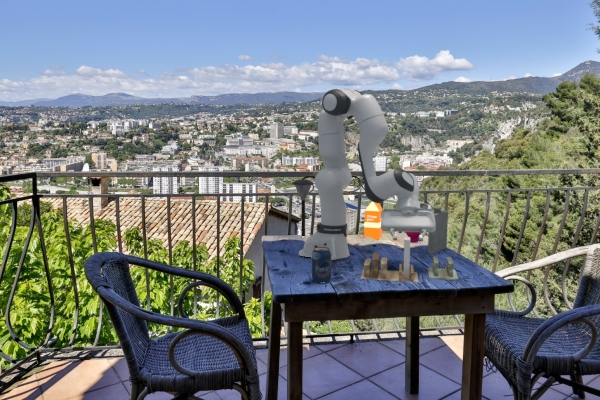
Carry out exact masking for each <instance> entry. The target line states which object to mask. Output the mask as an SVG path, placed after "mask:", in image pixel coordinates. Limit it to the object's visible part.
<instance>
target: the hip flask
mask: <svg viewBox="0 0 600 400" xmlns="http://www.w3.org/2000/svg"><path fill="white" fill-rule="evenodd" d="M432 209H433V214H434V217H435V222H436V230H435V231H434V232H427V233H428V239H427V240H428V241H427V254H429V255H435V254H436V253H439V252H440V251H442V250H446V249H447V245H448V243H447V242H448V225H449V224H448V223H449V219H448V218H449V211H448V210H443V208H442V207H440V206H433V208H432Z"/></svg>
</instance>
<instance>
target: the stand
mask: <svg viewBox="0 0 600 400" xmlns="http://www.w3.org/2000/svg"><path fill="white" fill-rule="evenodd" d="M445 263H446V265H445V267H446V268H440V267H439V266H440V262H439V259H438V256H432V267H427V268H426V269H427V270H426V271H427V273H428V279H430V280H431V279H432V280H444V281H445V280H446V281H448V280H449V281H459V276H458V274H457V271H456V269H455V268H454V262H453V259H452V257H451V256H447V257H446V262H445Z"/></svg>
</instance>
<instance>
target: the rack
mask: <svg viewBox="0 0 600 400" xmlns="http://www.w3.org/2000/svg"><path fill="white" fill-rule="evenodd" d="M398 269H399V270H388V257H387V256H382V257H381V260H380V252H373V255H372V259H369V258H367V259H366V258H365V261H364V263H363V269H362V272H361V275H360V279H361V280H363V279H364V280H378V281H392V282H393V281H394V282H395V281H396V282H410V283H419V278H418V272H417V271H415V270H414V264H410V267H409V278H403V263H399V267H398Z"/></svg>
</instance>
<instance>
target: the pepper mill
mask: <svg viewBox="0 0 600 400" xmlns="http://www.w3.org/2000/svg"><path fill="white" fill-rule="evenodd" d="M405 234H406V237H410V243H413V242H416V243H419V242H420V241H419V235H422V232H405ZM418 241H419V242H418Z"/></svg>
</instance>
